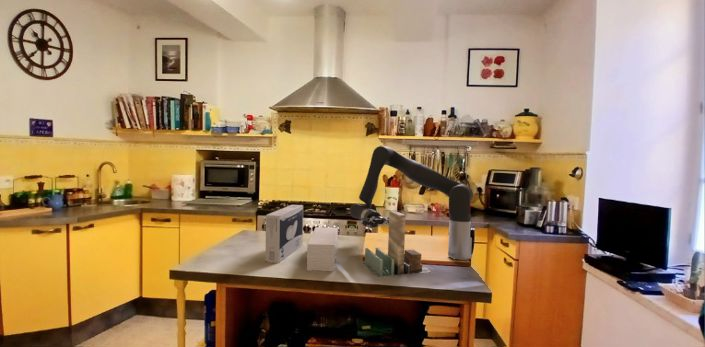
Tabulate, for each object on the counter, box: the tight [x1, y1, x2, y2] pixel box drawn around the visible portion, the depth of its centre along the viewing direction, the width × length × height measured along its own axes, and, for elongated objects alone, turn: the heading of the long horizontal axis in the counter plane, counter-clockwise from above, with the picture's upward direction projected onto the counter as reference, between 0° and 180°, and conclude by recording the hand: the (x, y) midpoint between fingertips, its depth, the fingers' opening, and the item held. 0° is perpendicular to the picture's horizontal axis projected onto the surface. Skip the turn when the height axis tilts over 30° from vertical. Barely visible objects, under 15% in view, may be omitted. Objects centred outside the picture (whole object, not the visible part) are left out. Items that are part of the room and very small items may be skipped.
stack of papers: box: [306, 226, 339, 272], centre depth 162 cm, size 32×11×11 cm, turn 0°
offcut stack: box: [404, 249, 423, 270], centre depth 149 cm, size 5×9×6 cm, turn 17°
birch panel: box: [387, 210, 406, 272], centre depth 147 cm, size 2×10×22 cm, turn 17°
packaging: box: [264, 204, 304, 264], centre depth 170 cm, size 30×6×20 cm, turn 168°
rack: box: [363, 247, 433, 277], centre depth 148 cm, size 22×17×8 cm
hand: (383, 224), depth 159 cm, fingers open, 8 cm apart
